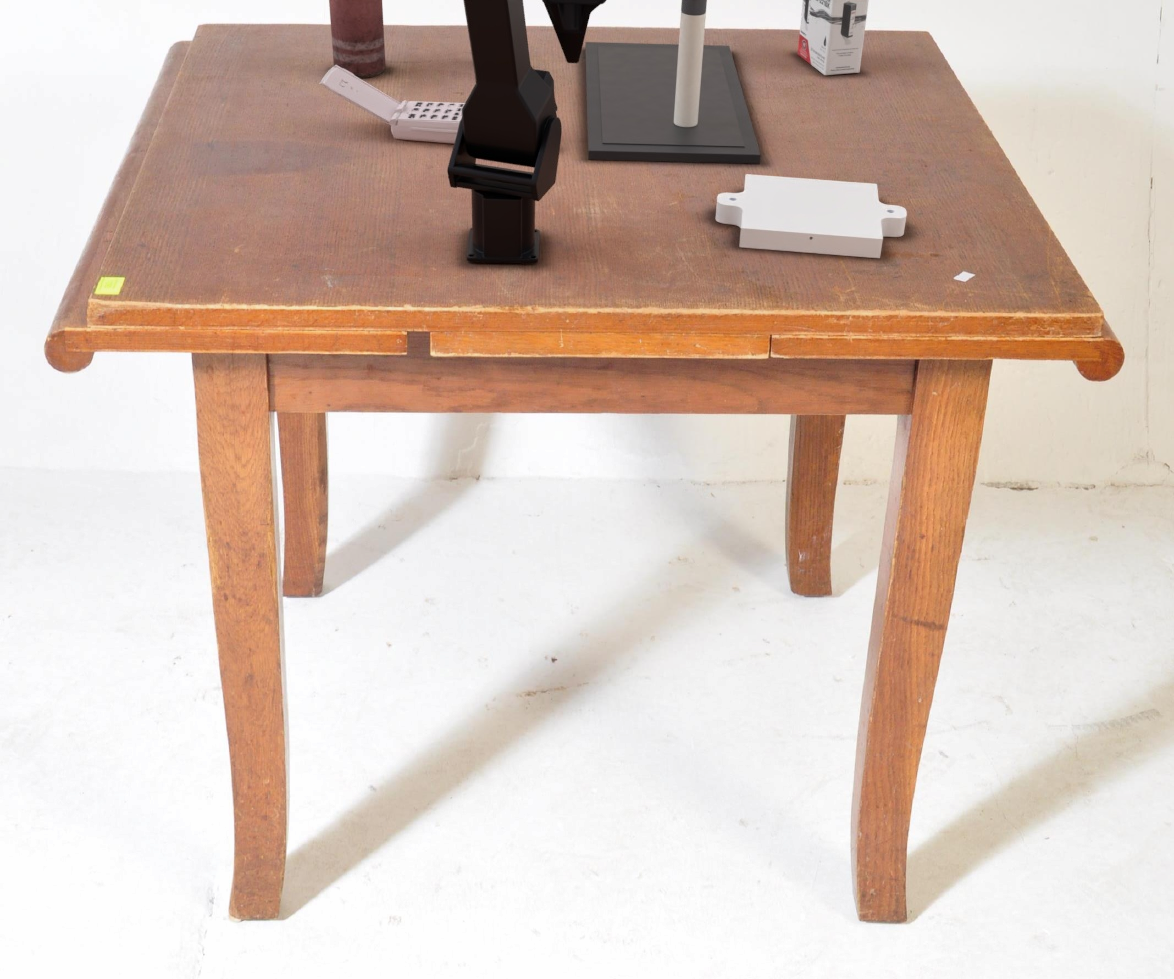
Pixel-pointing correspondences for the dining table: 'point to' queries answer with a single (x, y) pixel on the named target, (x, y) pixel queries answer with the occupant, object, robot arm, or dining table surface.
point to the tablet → (664, 106)
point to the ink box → (833, 34)
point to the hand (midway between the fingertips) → (572, 47)
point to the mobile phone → (398, 109)
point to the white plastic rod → (689, 62)
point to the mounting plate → (811, 216)
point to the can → (358, 36)
